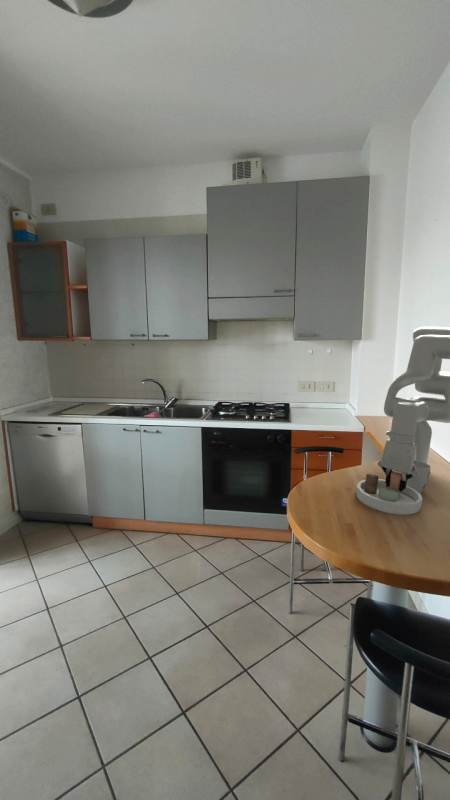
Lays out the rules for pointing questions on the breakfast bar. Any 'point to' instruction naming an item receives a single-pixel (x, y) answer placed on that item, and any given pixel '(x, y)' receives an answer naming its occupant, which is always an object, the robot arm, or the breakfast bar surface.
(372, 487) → the walnut bead
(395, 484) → the pinkish-brown rounded piece
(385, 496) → the groove tray
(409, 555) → the breakfast bar surface
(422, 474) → the cup
